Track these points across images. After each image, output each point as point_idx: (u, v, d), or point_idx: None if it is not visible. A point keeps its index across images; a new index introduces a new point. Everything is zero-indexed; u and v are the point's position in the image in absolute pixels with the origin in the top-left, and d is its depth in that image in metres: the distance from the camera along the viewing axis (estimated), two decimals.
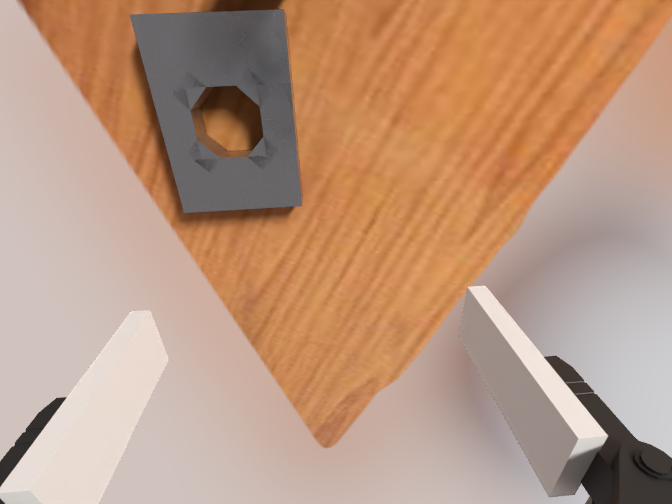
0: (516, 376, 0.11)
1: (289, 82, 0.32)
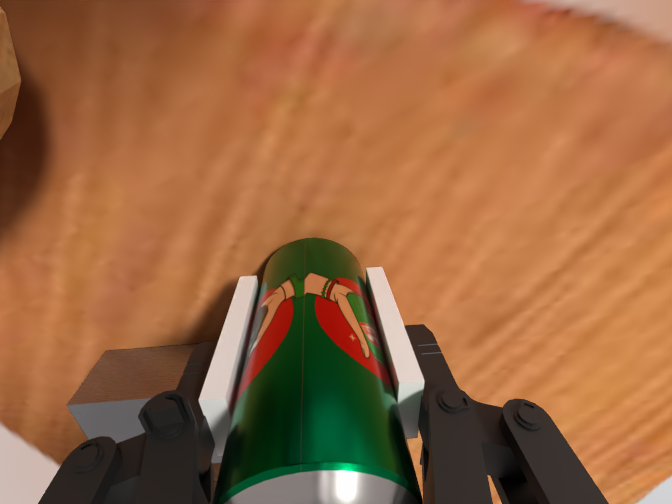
0: (382, 340, 0.12)
1: None
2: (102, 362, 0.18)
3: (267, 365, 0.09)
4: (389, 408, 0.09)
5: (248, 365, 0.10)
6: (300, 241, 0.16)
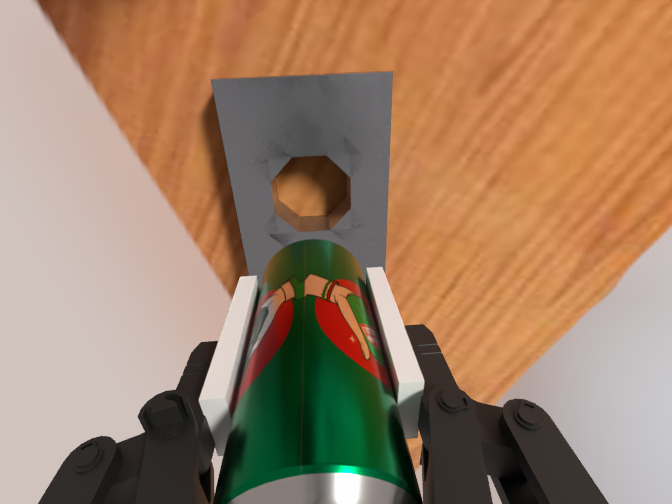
0: (382, 340, 0.12)
1: (388, 151, 0.27)
2: (223, 78, 0.26)
3: (267, 367, 0.09)
4: (389, 410, 0.09)
5: (248, 367, 0.10)
6: (300, 242, 0.16)
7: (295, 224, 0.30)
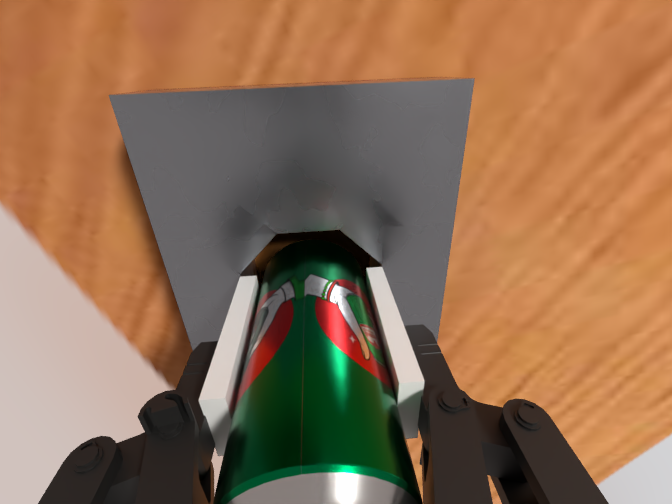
0: (382, 340, 0.12)
1: (451, 221, 0.15)
2: (148, 91, 0.14)
3: (267, 366, 0.09)
4: (390, 410, 0.09)
5: (248, 367, 0.10)
6: (300, 242, 0.16)
7: None
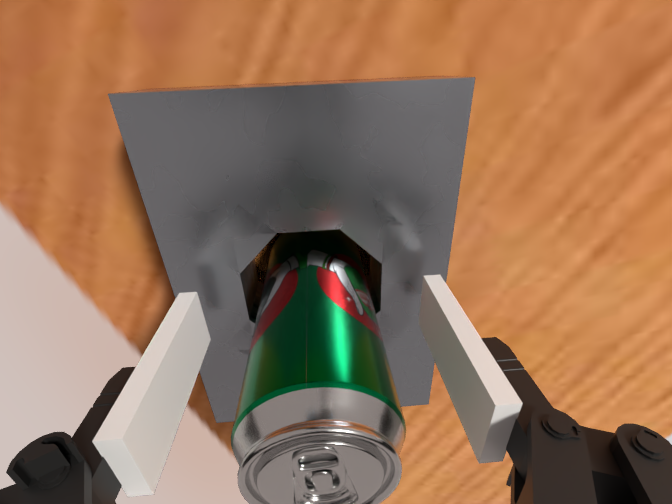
0: (456, 355, 0.12)
1: (452, 220, 0.15)
2: (147, 89, 0.14)
3: (276, 319, 0.11)
4: (379, 352, 0.11)
5: (260, 322, 0.12)
6: None
7: None
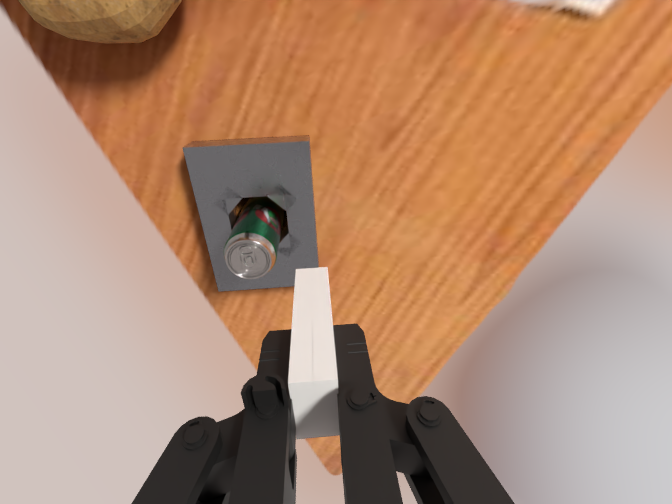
0: None
1: (312, 193, 0.38)
2: (193, 142, 0.37)
3: (239, 222, 0.34)
4: (271, 231, 0.33)
5: (234, 226, 0.35)
6: None
7: None
